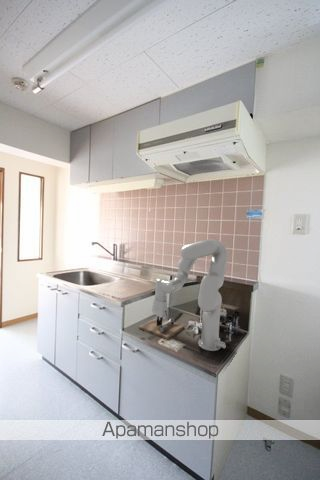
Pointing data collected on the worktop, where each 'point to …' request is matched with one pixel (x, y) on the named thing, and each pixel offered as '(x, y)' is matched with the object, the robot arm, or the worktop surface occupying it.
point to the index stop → (163, 329)
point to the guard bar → (167, 323)
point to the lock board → (153, 329)
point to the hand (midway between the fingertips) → (159, 325)
